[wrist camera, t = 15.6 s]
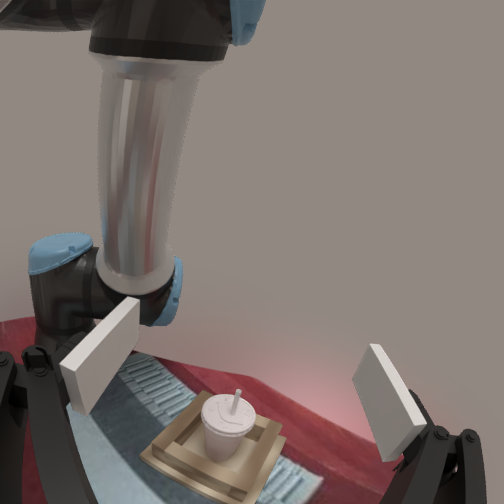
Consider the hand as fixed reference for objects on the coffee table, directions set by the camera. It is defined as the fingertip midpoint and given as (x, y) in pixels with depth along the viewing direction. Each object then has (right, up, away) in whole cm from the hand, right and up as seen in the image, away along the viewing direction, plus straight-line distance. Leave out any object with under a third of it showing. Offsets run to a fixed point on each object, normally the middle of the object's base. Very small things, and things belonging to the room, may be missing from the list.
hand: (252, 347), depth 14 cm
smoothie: (-5, -23, +16) cm, 28 cm away
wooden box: (-5, -24, +17) cm, 29 cm away
